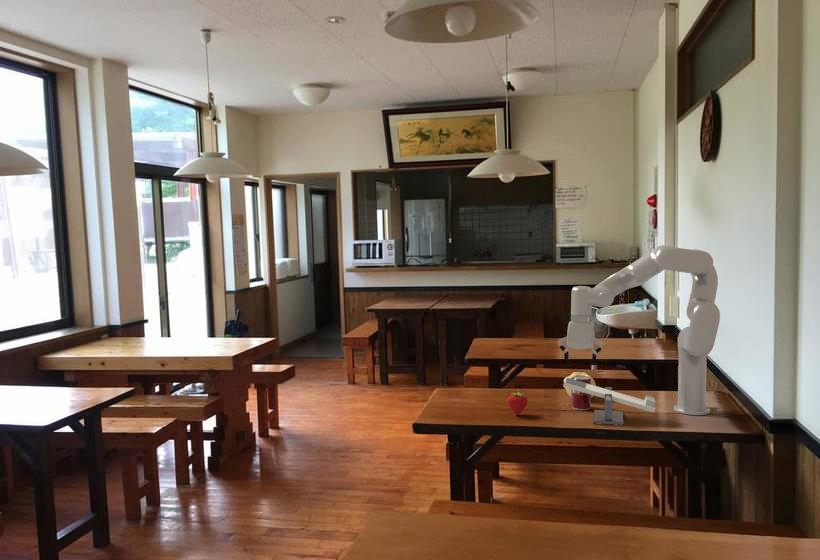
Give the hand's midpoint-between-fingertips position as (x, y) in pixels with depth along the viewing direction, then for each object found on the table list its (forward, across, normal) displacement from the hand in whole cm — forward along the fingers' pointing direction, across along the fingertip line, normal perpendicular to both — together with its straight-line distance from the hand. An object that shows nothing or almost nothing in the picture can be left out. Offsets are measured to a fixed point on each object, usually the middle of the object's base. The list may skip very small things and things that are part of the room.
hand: (580, 363), depth 257 cm
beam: (+8, -11, +13) cm, 18 cm away
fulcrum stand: (+17, -11, +13) cm, 24 cm away
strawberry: (+18, +22, +15) cm, 32 cm away
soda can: (+18, -1, 0) cm, 18 cm away
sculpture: (+18, 0, -14) cm, 23 cm away
